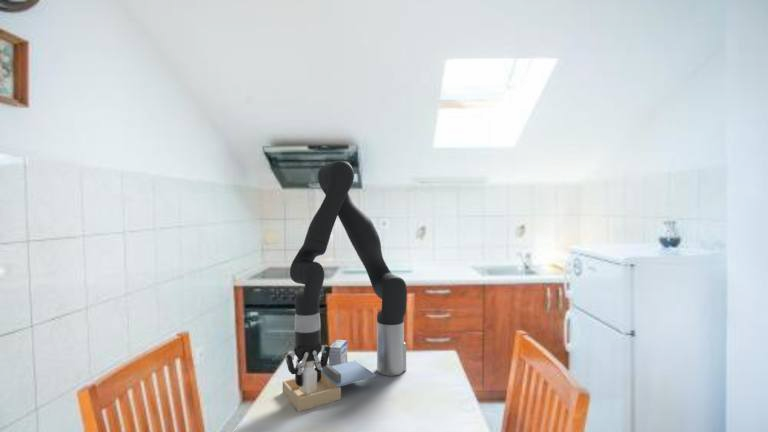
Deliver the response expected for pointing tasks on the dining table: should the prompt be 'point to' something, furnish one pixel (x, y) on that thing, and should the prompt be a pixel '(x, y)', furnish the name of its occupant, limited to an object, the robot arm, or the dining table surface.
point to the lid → (346, 373)
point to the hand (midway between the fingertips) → (308, 383)
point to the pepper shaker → (309, 378)
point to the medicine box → (338, 353)
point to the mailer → (311, 394)
